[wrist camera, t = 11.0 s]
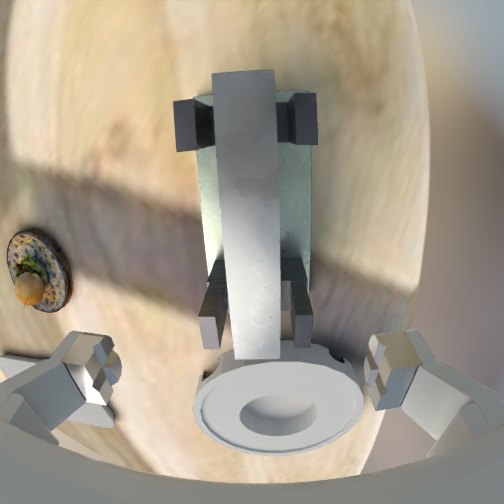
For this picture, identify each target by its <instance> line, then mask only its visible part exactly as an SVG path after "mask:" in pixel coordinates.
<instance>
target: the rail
mask: <svg viewBox="0 0 504 504" xmlns="http://www.w3.org/2000/svg"><path fill="white" fill-rule="evenodd" d="M212 90H213V110H214V127H215V143H216V158H217V173H218V186H219V199H220V212H221V224H222V236H223V247H224V258H225V269H226V279H227V289H228V299H229V309H230V318H231V327H232V337H233V345H234V354H235V359H280V314H281V287H280V208H279V171H278V142H277V118H276V97H275V79H274V70H252V71H236V72H223V73H213V74H212Z"/></svg>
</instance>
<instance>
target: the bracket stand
mask: <svg viewBox="0 0 504 504" xmlns="http://www.w3.org/2000/svg"><path fill="white" fill-rule="evenodd" d="M275 97H276V118H277V142H278V171H279V208H280V287H281V311H290V315H291V323H292V332H293V340H294V348H311V337H312V325H313V311H312V307H311V303H310V299H309V274H310V244H311V145H318V129H317V103H316V93H309V91H275ZM173 107H174V123H175V137H176V150H177V152H183V151H192V150H196V155H197V167H198V179H199V190H200V201H201V211H202V221H203V230H204V240H205V248H206V257H207V265H208V274H209V278H208V281H207V288H208V289H207V292H206V295H205V298H204V301H203V304H202V307H201V310H200V313H199V316H198V319H199V325H200V330H201V336H202V341H203V346H204V349H220V346H221V340H222V335H223V330H224V325H225V320H226V315H227V312H230V309H229V299H228V289H227V279H226V269H225V258H224V247H223V236H222V224H221V212H220V199H219V186H218V173H217V158H216V143H215V127H214V110H213V95H207V96H198V97H193V99H188V100H180V101H174V102H173Z"/></svg>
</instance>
